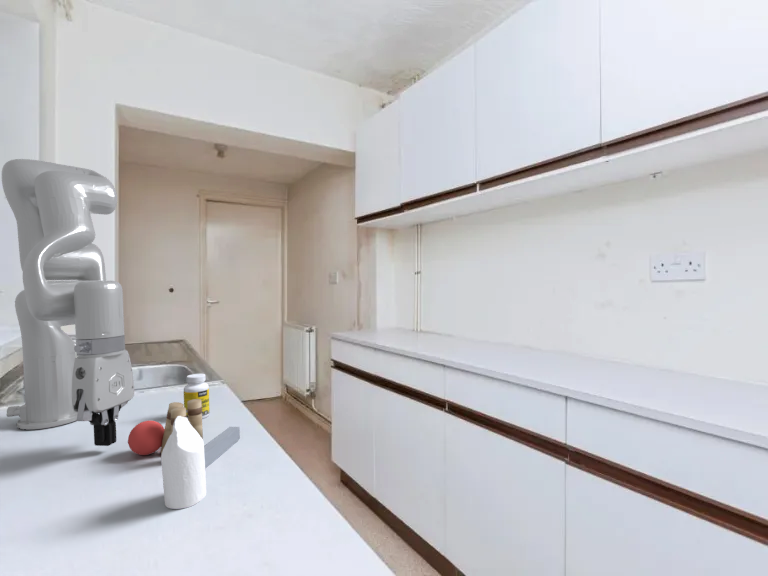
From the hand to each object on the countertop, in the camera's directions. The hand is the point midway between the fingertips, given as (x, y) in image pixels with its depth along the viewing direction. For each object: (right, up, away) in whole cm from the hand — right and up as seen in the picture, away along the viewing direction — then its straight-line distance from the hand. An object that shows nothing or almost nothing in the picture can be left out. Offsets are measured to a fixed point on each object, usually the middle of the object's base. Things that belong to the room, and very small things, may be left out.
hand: (105, 443), depth 77 cm
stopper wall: (+22, -1, -2) cm, 22 cm away
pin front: (+12, -1, -1) cm, 12 cm away
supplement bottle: (+9, -1, +19) cm, 21 cm away
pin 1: (+16, -1, -4) cm, 17 cm away
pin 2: (+17, -1, +1) cm, 17 cm away
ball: (+9, +2, -1) cm, 9 cm away
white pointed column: (+23, -2, -17) cm, 29 cm away
